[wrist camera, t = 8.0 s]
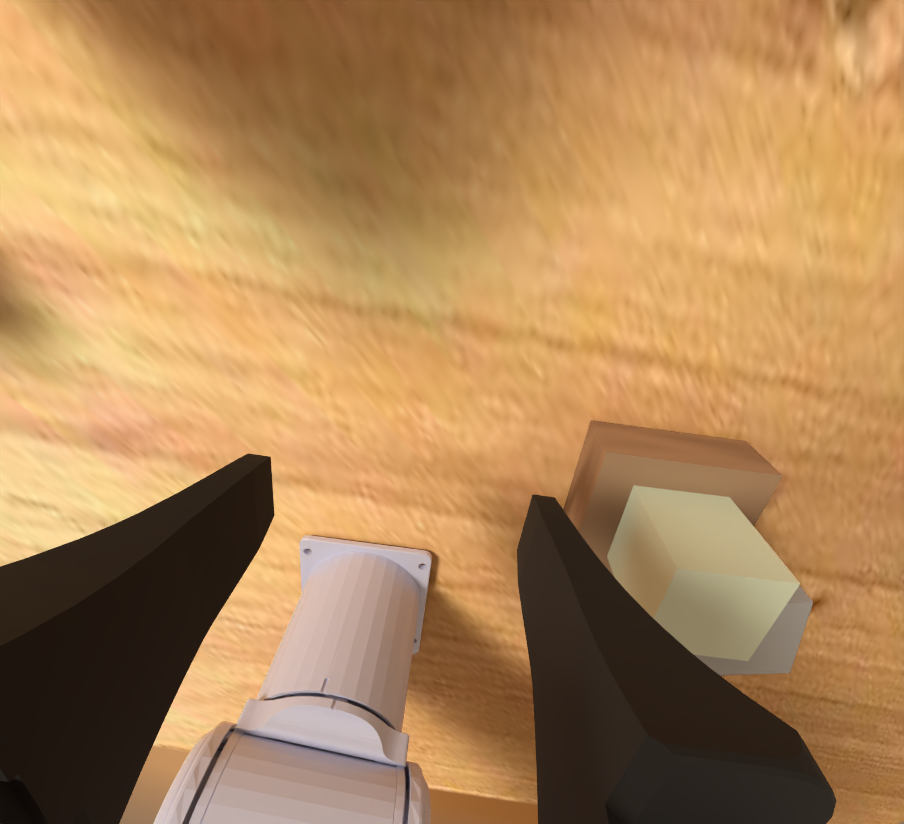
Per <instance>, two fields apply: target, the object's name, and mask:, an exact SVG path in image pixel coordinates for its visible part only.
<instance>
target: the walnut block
mask: <svg viewBox="0 0 904 824" xmlns="http://www.w3.org/2000/svg"><path fill="white" fill-rule="evenodd" d="M781 478H782V475H781V474H780V473H779V472H778V471H777V470H776V469H775V468H774V467H773V466H772V465H771V464H770V463H769V462H768V461H766V460H765V459H764V458H763V457H762V456H761V455H760V454H759V453H758V452H757V451H756V450H755V449H754V448H753V447H752V446H751V445H750V444H748V443H747V442H746V441H739V440H732V439H724V438H717V437H710V436H702V435H695V434H687V433H680V432H673V431H665V430H658V429H650V428H643V427H636V426H628V425H621V424H613V423H606V422H599V421H591V422H590V425H589V429H588V432H587V435H586V438H585V442H584V445H583V448H582V451H581V455H580V458H579V461H578V464H577V468H576V471H575V474H574V477H573V481H572V484H571V487H570V490H569V494H568V497H567V500H566V503H565V507H564V512H565V513H566V514H567V516H568V517H569V519H570V520H571V522H572V523H573V524H574V526H575V527H576V529H577V530H578V531H579V533H580V534H581V536H582V537H583V538H584V540H585V541H586V542H587V544H588V545H589V546H590V548H591V549H592V550H593V552H594V553H595V554H596V556H597V557H598V558H599V559H600V561H601V562H602V563H603V564H604V565H605V567H606V568H607V569H608V570H609V571H610V573H611V574H612V575H613V572H612V569H611V567H610V564H609V561H608V558H607V555H608V552H609V550H610V547H611V544H612V542H613V539H614V536H615V534H616V531H617V528H618V526H619V523H620V520H621V518H622V515H623V512H624V510H625V507H626V504H627V502H628V499H629V496H630V494H631V491H632V488H633V486H634V485H635V486H643V487H651V488H659V489H668V490H676V491H684V492H692V493H700V494H708V495H716V496H724V497H730V498H731V499H732V501H733V502H734V503H735V504H736V505H737V507H738V508H739V509H740V510H741V512H742V513H743V514H744V515H745V516H746V518H747V519H748V520H749V521H750V523H751V524H752V525H753V526H754V525H755V523H756V522H757V520H758V518H759V516H760V515H761V513H762V511H763V509H764V508H765V506H766V504H767V502H768V501H769V499H770V497H771V495H772V494H773V492H774V490H775V488H776V487H777V485H778V483H779V482H780V480H781ZM613 576H614V575H613Z"/></svg>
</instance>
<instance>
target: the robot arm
mask: <svg viewBox="0 0 904 824" xmlns="http://www.w3.org/2000/svg"><path fill="white" fill-rule="evenodd" d="M273 517H274V503H273V487H272V472H271V457H268V456H261V455H254V454H247V455H245V456H243V457H241V458H239V459H237V460H235V461H234V462H232V463H230V464H228V465H226V466H225V467H223V468H221V469H220V470H218V471H216V472H214V473H213V474H211V475H209V476H207V477H206V478H204V479H202V480H200V481H198V482H197V483H195V484H193V485H191V486H190V487H188V488H186V489H184V490H182V491H181V492H179V493H177V494H175V495H173V496H171V497H169V498H167V499H165V500H163V501H161V502H159V503H157V504H155V505H153V506H152V507H150V508H148V509H146V510H144V511H142V512H140V513H138V514H136V515H134V516H131V517H129V518H127V519H125V520H123V521H121V522H118V523H116V524H114V525H112V526H109V527H107V528H105V529H102V530H100V531H97V532H95V533H93V534H90V535H88V536H85V537H83V538H80V539H78V540H75V541H72V542H70V543H67V544H64V545H61V546H59V547H56V548H53V549H50V550H48V551H45V552H42V553H40V554H37V555H34V556H31V557H29V558H26V559H23V560H20V561H16V562H13V563H10V564H7V565H4V566H1V567H0V824H119V823H120V820H121V818H122V815H123V813H124V811H125V808H126V806H127V804H128V801H129V799H130V796H131V794H132V791H133V789H134V787H135V784H136V782H137V780H138V777H139V775H140V772H141V770H142V768H143V766H144V764H145V761H146V759H147V757H148V755H149V752H150V750H151V748H152V746H153V743H154V741H155V739H156V737H157V734H158V732H159V730H160V728H161V725H162V723H163V721H164V719H165V717H166V715H167V713H168V710H169V708H170V706H171V704H172V702H173V700H174V698H175V696H176V694H177V692H178V689H179V687H180V685H181V683H182V681H183V679H184V677H185V675H186V673H187V671H188V669H189V667H190V665H191V663H192V661H193V659H194V657H195V655H196V653H197V651H198V649H199V647H200V645H201V643H202V641H203V639H204V637H205V636H206V634H207V632H208V630H209V629H210V627H211V625H212V623H213V622H214V620H215V619H216V617H217V615H218V614H219V612H220V611H221V609H222V607H223V606H224V604H225V603H226V601H227V599H228V598H229V596H230V595H231V593H232V592H233V590H234V588H235V587H236V585H237V584H238V582H239V580H240V579H241V577H242V576H243V574H244V572H245V571H246V569H247V568H248V566H249V564H250V563H251V561H252V560H253V558H254V556H255V555H256V553H257V551H258V550H259V548H260V546H261V544H262V542H263V539H264V537H265V535H266V533H267V531H268V529H269V526H270V524H271V522H272V519H273ZM308 549H310V550H308ZM431 562H432V555H431V553H430V552H428V551H425V550H418V549H410V548H403V547H395V546H387V545H380V544H372V543H364V542H357V541H349V540H341V539H334V538H326V537H318V536H311V535H306V536H303V537H302V539H301V541H300V565H301V586H302V594H301V596H300V599H299V601H298V603H297V605H296V608H295V610H294V612H293V615H292V617H291V619H290V622H289V624H288V626H287V629H286V631H285V633H284V636H283V638H282V640H281V643H280V645H279V647H278V650H277V652H276V654H275V656H274V659H273V661H272V663H271V666H270V668H269V670H268V673H267V675H266V677H265V680H264V682H263V684H262V687H261V689H260V691H259V694H258V696H257V698H256V699H248V700H247V702H246V704H245V707H244V709H243V711H242V713H241V715H240V718H239V720H238V722H237V724H234V723H230V722H226V721H223V722H221V723H220V724H218V725H217V726H216V727H215V728H214V729H213V730H211V731H210V732H208V733H207V734H205V735H204V736H202V737H201V738H200V739H199V740H198V742H197V743H196V744H195V746H194V747H193V749H192V750H191V752H190V753H189V755H188V756H187V758H186V760H185V761H184V763H183V765H182V767H181V768H180V770H179V772H178V774H177V776H176V778H175V780H174V781H173V783H172V785H171V787H170V789H169V791H168V793H167V795H166V797H165V799H164V801H163V804H162V806H161V808H160V810H159V812H158V814H157V816H156V819H155V821H154V823H153V824H430V818H431V810H430V809H431V806H430V793H429V788H428V785H427V783H426V781H425V779H424V777H423V774H422V770H421V768H420V766H419V765H418V764H417V763H413V762H408V761H406V759H407V751H408V743H409V735H408V734H406V733H403V732H402V725H403V718H404V711H405V703H406V696H407V689H408V682H409V674H410V667H411V660H412V654H416V653H418V652H419V647H420V640H421V633H422V626H423V619H424V612H425V605H426V598H427V591H428V583H429V576H430V569H431ZM517 562H518V586H519V594H520V600H521V607H522V614H523V620H524V627H525V633H526V640H527V646H528V653H529V659H530V666H531V675H532V684H533V701H534V718H535V739H536V762H537V794H538V824H826V823H827V822H828V821H829V820H830V818H831V817H832V815H833V812H834V808H835V804H836V798H835V796H834V793H833V790H832V788H831V787H830V785H829V783H828V782H827V780H826V778H825V777H824V775H823V773H822V772H821V770H820V768H819V766H818V765H817V763H816V761H815V760H814V758H813V756H812V755H811V753H810V751H809V750H808V748H807V746H806V744H805V743H804V741H803V740H802V738H801V736H800V735H799V733H798V732H797V731H796V730H795V729H793V728H792V727H791V726H789V725H788V724H786V723H785V722H783V721H782V720H781V719H779V718H778V717H776V716H775V715H773V714H772V713H770V712H769V711H768V710H766V709H765V708H763V707H762V706H760V705H759V704H758V703H756V702H755V701H753V700H752V699H750V698H749V697H748V696H746V695H745V694H743V693H742V692H741V691H739V690H738V689H737V688H735V687H734V686H733V685H731V684H730V683H729V682H728V681H726V680H725V679H724V678H722V677H721V676H720V675H718V674H717V673H716V672H715V671H713V670H712V669H711V668H709V667H708V666H707V665H706V664H705V663H703V662H702V661H701V660H700V659H698V658H697V657H696V656H695V655H694V654H692V653H691V652H690V651H689V650H688V649H687V648H685V647H684V646H683V645H682V644H681V643H680V642H679V641H678V640H676V639H675V638H674V637H673V636H672V635H671V634H670V633H669V632H667V631H666V630H665V629H664V628H663V627H662V626H661V625H660V624H659V623H658V622H657V621H656V620H655V619H653V618H652V617H651V616H650V615H649V614H648V613H647V612H646V611H645V609H644V608H643V607H642V606H641V605H640V604H639V603H638V602H637V601H636V600H635V599H634V598H633V597H632V596H631V595H630V594H629V593H628V592H627V591H626V590H625V589H624V588H623V586H622V585H621V584H620V583H619V582H618V581H617V580H616V578H615V577H614V576H613V575H612V574H611V573H610V571H609V570H608V569H607V568H606V567H605V565H604V564H603V563H602V562H601V561H600V559H599V558H598V557H597V556H596V554H595V553H594V552H593V550H592V549H591V548H590V546H589V545H588V544H587V542H586V541H585V540H584V538H583V537H582V536H581V534H580V533H579V531H578V530H577V529H576V527H575V526H574V524H573V523H572V522H571V520H570V519H569V517H568V516H567V514H566V513H565V512H564V510H563V509H562V507H561V506H560V504H559V503H558V502H557V500H556V499H555V498H554V497H547V496H540V495H532V499H531V502H530V506H529V509H528V513H527V517H526V520H525V524H524V527H523V531H522V534H521V538H520V542H519V545H518V549H517ZM421 564H425V565H421Z"/></svg>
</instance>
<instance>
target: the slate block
mask: <svg viewBox="0 0 904 824" xmlns="http://www.w3.org/2000/svg"><path fill="white" fill-rule="evenodd" d="M812 604H813V601H812V600H811V599H810V598H809V596H808V595H807V594H806V593H805V591H804V590H803V589H802V588H801V587H800V585H799V587H798V588H797V590H796V591H795V592H794V594H793V595H792V597H791V598H790V600H789V601H788V603H787V604H786V606H785V607H784V609H783V610H782V612H781V613H780V615H779V616H778V618H777V619H776V621H775V622H774V624H773V625H772V627H771V628H770V630H769V631H768V632H767V634H766V635H765V637H764V638H763V640H762V641H761V643H760V644H759V646H758V647H757V649H756V650H755V652H754V653H753V655H752V656H751V658H750V659H749V661H742V660H734V659H726V658H718V657H709V656H701V655H695V656H696V657H697V658H698V659H700V660H701V661H702V662H703V663H705V664H706V665H707V666H708V667H709V668H711V669H712V670H713V671H715V672H716V673H717V674H718V675H748V674H778V673H790V671H791V668H792V665H793V662H794V659H795V656H796V653H797V650H798V647H799V644H800V641H801V638H802V635H803V632H804V629H805V626H806V623H807V619H808V616H809V613H810V610H811V607H812Z"/></svg>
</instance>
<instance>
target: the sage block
mask: <svg viewBox="0 0 904 824" xmlns="http://www.w3.org/2000/svg"><path fill="white" fill-rule="evenodd" d="M607 558H608V561H609V564H610V567H611V569H612V572H613V575H614V577H615V578H616V580H617V581H618V582H619V583H620V584H621V585H622V586H623V588H624V589H625V590H626V591H627V592H628V593H629V594H630V595H631V596H632V597H633V598H634V599H635V600H636V601H637V602H638V603H639V604H640V605H641V606H642V607H643V608H644V609H645V611H646V612H647V613H648V614H649V615H650V616H651V617H652V618H653V619H655V620H656V621H657V622H658V623H659V624H660V625H661V626H662V627H663V628H664V629H665V630H666V631H667V632H669V633H670V634H671V635H672V636H673V637H674V638H675V639H676V640H678V641H679V642H680V643H681V644H682V645H683V646H684V647H685V648H687V649H688V650H689V651H690V652H691V653H692V654H694V655H701V656H709V657H718V658H726V659H734V660H742V661H749V659H750V658H751V656H752V655H753V653H754V652H755V650H756V649H757V647H758V646H759V644H760V643H761V641H762V640H763V638H764V637H765V635H766V634H767V632H768V631H769V630H770V628H771V627H772V625H773V624H774V622H775V621H776V619H777V618H778V616H779V615H780V613H781V612H782V610H783V609H784V607H785V606H786V604H787V603H788V601H789V600H790V598H791V597H792V595H793V594H794V592H795V591H796V590H797V588H798V587H799V585H800V583H799V581H798V580H797V579H796V578H795V577H794V575H793V574H792V573H791V572H790V570H789V569H788V568H787V567H786V565H785V564H784V563H783V562H782V561H781V559H780V558H779V557H778V556H777V554H776V553H775V552H774V551H773V550H772V548H771V547H770V546H769V545H768V543H767V542H766V541H765V540H764V539H763V537H762V536H761V535H760V534H759V532H758V531H757V530H756V529H755V528H754V526H753V525H752V524H751V523H750V521H749V520H748V519H747V518H746V516H745V515H744V514H743V513H742V512H741V510H740V509H739V508H738V507H737V505H736V504H735V503H734V502H733V501H732V499H731V498H730V497H724V496H716V495H708V494H700V493H692V492H684V491H676V490H668V489H659V488H651V487H643V486H635V485H634V486H633V488H632V491H631V494H630V496H629V499H628V502H627V504H626V507H625V510H624V512H623V515H622V518H621V520H620V523H619V526H618V528H617V531H616V534H615V536H614V539H613V542H612V544H611V547H610V550H609V552H608V555H607Z"/></svg>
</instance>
